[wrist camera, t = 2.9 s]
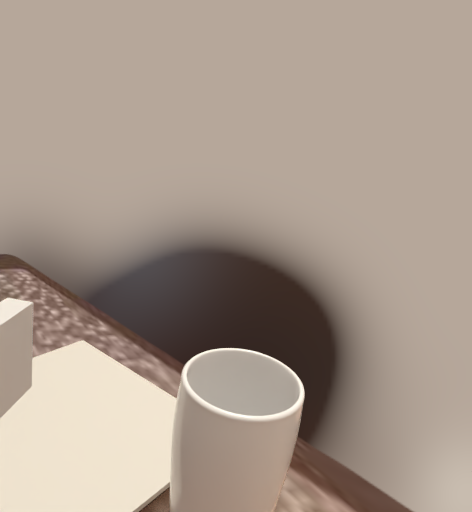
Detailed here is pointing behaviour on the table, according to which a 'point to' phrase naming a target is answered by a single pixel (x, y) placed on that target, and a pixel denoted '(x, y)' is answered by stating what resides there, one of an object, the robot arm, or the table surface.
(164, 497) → the table surface
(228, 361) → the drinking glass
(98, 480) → the felt placemat
